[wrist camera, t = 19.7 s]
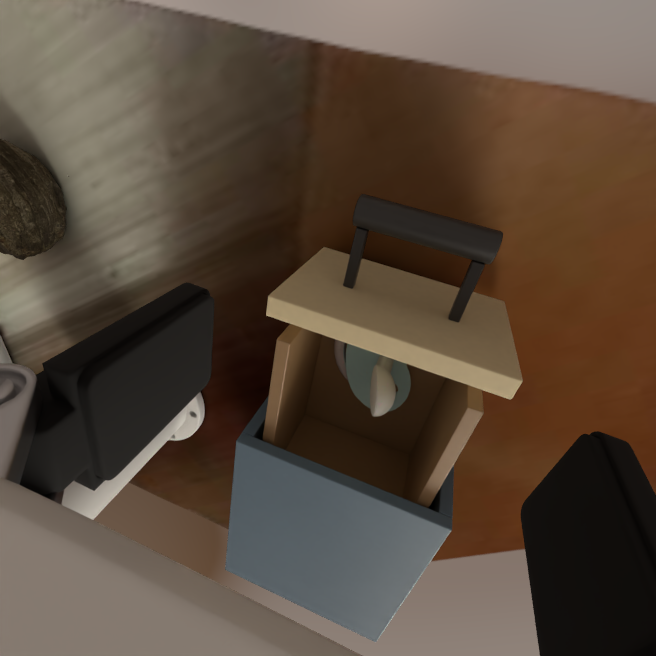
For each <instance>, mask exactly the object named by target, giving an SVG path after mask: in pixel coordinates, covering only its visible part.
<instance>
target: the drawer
mask: <svg viewBox="0 0 656 656" xmlns="http://www.w3.org/2000/svg"><path fill="white" fill-rule="evenodd" d="M353 225H354V226H356V227H357V228H356V232H355V236H354V240H353V245H352V249H351V253H350V255H349V254H346V253H342V252H339V251H336V250H333V249H329V248H326V247H323V248H322V249H321V250H320V251H319V252H318V253H316V254H315V255H314V256H313V257H312V258H311V259H310V260H308V261H307V262H306V263H305V264H304V265H303V266H302V267H300V268H299V269H298V270H297V271H296V272H295V273H294V274H292V275H291V276H290V277H289V278H288V279H287V280H286V281H284V282H283V283H282V284H281V285H280V286H279V287H278V288H276V289H275V290H274V291H273V292H272V293H271V294H270V295H269V296H268V302H267V310H266V315H267V316H270V317H273V318H275V319H278V320H281V321H284V322H287V323H290V325H289V326H288V327H287V328H286V329H285V330H284V332H283V333H282V334H281V335H280V336H279V337H278V338H277V341H276V348H275V355H274V362H273V369H272V376H271V383H270V390H269V398H268V405H267V412H266V419H265V426H264V433H263V440H262V441H265V442H267V443H269V444H272V445H274V446H277V447H279V448H282V449H284V450H287V451H289V452H291V453H294V454H296V455H299V456H301V457H304V458H306V459H309V460H311V461H314V462H316V463H318V464H321V465H323V466H326V467H328V468H331V469H333V470H336V471H338V472H340V473H343V474H345V475H348V476H350V477H353V478H355V479H358V480H360V481H362V482H365V483H367V484H370V485H372V486H375V487H377V488H380V489H382V490H384V491H387V492H389V493H392V494H394V495H397V496H399V497H402V498H404V499H406V500H409V501H411V502H414V503H416V504H419V505H421V506H424V507H426V508H429V506H430V505H431V503H432V501H433V499H434V498H435V496H436V494H437V492H438V491H439V489H440V487H441V486H442V484H443V482H444V480H445V479H446V477H447V475H448V473H449V472H450V470H451V468H452V467H453V465H454V463H455V461H456V460H457V458H458V456H459V454H460V453H461V451H462V449H463V448H464V446H465V444H466V442H467V441H468V439H469V437H470V435H471V434H472V432H473V430H474V429H475V427H476V425H477V423H478V422H479V420H480V418H481V416H482V415H483V413H484V410H483V396H482V390H484V391H487V392H490V393H493V394H496V395H499V396H502V397H504V398H507V399H512V398H513V396H514V394H515V393H516V391H517V390H518V388H519V386H520V385H521V383H522V381H523V379H522V375H521V371H520V366H519V362H518V358H517V354H516V349H515V345H514V341H513V336H512V332H511V328H510V323H509V319H508V315H507V310H506V306H505V302H504V301H501V300H498V299H495V298H492V297H488V296H485V295H482V294H478V293H475V292H473V290H474V288H475V286H476V284H477V282H478V279H479V277H480V275H481V273H482V270H483V268H484V266H485V264H491V263H492V261H493V260H494V258H495V257H496V255H497V252H498V250H499V248H500V245H501V242H502V238H503V232H501V231H498V230H494V229H490V228H487V227H483V226H479V225H476V224H472V223H468V222H465V221H461V220H457V219H454V218H450V217H446V216H442V215H439V214H435V213H431V212H428V211H424V210H420V209H417V208H413V207H409V206H406V205H402V204H398V203H394V202H391V201H387V200H383V199H380V198H376V197H372V196H369V195H365V194H362V195H361V196H360V197H359V199H358V201H357V204H356V207H355V211H354V215H353ZM369 230H370V231H374V232H377V233H381V234H384V235H388V236H391V237H395V238H398V239H402V240H405V241H409V242H412V243H416V244H419V245H423V246H426V247H430V248H433V249H436V250H440V251H443V252H447V253H450V254H454V255H457V256H461V257H464V258H468V259H471V260H472V261H471V263H470V265H469V268H468V270H467V273H466V275H465V277H464V280H463V282H462V284H461V287H460V288H458V287H455V286H452V285H448V284H445V283H442V282H439V281H435V280H432V279H429V278H425V277H422V276H419V275H415V274H412V273H409V272H405V271H402V270H399V269H395V268H392V267H389V266H386V265H382V264H379V263H376V262H372V261H369V260H366V259H362V256H363V252H364V248H365V244H366V240H367V236H368V232H369ZM484 263H485V264H484ZM335 339H336V340H339V341H342V342H345V343H346V349H347V344H351V345H354V346H357V347H360V348H362V349H365V350H368V351H371V352H374V353H377V354H380V355H383V356H386V357H389V358H391V359H394V360H397V361H400V362H403V363H406V364H407V367H408V370H409V373H410V378H411V386H410V392H409V394H408V397H407V399H406V400H405V401H404V403H403V404H402V405H401V406H400V407H398V408H396V409H395V410H392V411H388V412H387V413H385V414H384V415H382V416H377V417H375V416H372V414H371V409H370V408H368V407H367V406H365V405H364V404H363V403H362V402H361V401H360V400H359V399H358V398H357V397H356V396H355V395H354V393H353V391H352V389H351V387H350V384H349V382H348V380H347V379H346V378H345V377H344V376H343V374H342V373H341V372H340V370H339V368H338V365H337V363H336V359H335V354H334V342H335ZM395 388H396V392H397V391H398V387H397V385H396V384H395Z"/></svg>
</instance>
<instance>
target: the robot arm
mask: <svg viewBox="0 0 656 656" xmlns="http://www.w3.org/2000/svg"><path fill="white" fill-rule="evenodd" d="M213 319H214V299H213V298H212V297H211V296H210V293H209V291H208V290H207V289H205V288H202V287H199V286H196V285H194V284H191V283H184V284H182V285H180V286H178V287H176V288H175V289H173V290H171V291H169V292H168V293H166V294H164V295H162V296H161V297H159V298H157V299H155V300H154V301H152V302H150V303H148V304H146V305H145V306H143V307H141V308H139V309H138V310H136V311H134V312H132V313H131V314H129V315H127V316H125V317H124V318H122V319H120V320H118V321H117V322H115V323H113V324H111V325H109V326H108V327H106V328H104V329H102V330H101V331H99V332H97V333H95V334H94V335H92V336H90V337H88V338H87V339H85V340H83V341H81V342H79V343H78V344H76V345H74V346H72V347H71V348H69V349H67V350H65V351H64V352H62V353H60V354H58V355H57V356H55V357H53V358H51V359H50V360H48V361H46V362H44V363H42V364H43V367H44V371H42V372H41V373H39V374H37V375H35V374H34V372H33V371H32V370H31V369H29V368H27V367H26V366H23V365H18V364H14V363H0V656H362V655H360V654H357V653H356V652H354V651H352V650H350V649H348V648H346V647H344V646H342V645H340V644H338V643H336V642H334V641H332V640H330V639H328V638H326V637H324V636H322V635H321V634H319V633H317V632H315V631H312V630H311V629H309V628H307V627H305V626H303V625H300V624H299V623H297V622H295V621H293V620H291V619H289V618H287V617H285V616H283V615H281V614H279V613H277V612H275V611H273V610H271V609H269V608H267V607H265V606H263V605H261V604H259V603H257V602H255V601H253V600H251V599H250V598H248V597H245V596H244V595H242V594H240V593H238V592H236V591H234V590H232V589H230V588H228V587H226V586H224V585H222V584H220V583H218V582H216V581H214V580H212V579H210V578H208V577H206V576H204V575H202V574H200V573H198V572H196V571H194V570H192V569H190V568H188V567H186V566H184V565H182V564H180V563H178V562H176V561H174V560H172V559H170V558H168V557H166V556H164V555H162V554H160V553H158V552H156V551H154V550H152V549H150V548H148V547H146V546H144V545H142V544H140V543H138V542H136V541H134V540H132V539H130V538H128V537H126V536H124V535H122V534H120V533H118V532H116V531H114V530H112V529H110V528H108V527H106V526H104V525H102V524H100V523H98V522H96V521H94V520H93V519H94V518H95V517H96V516H97V515H98V514H99V513H100V512H101V511H102V510H103V509H104V508H105V507H106V505H107V504H108V503H109V502H110V501H111V500H112V499H113V498H114V497H115V496H116V495H117V494H118V493H119V492H120V491H121V489H122V488H123V487H124V486H125V485H126V484H127V483H128V482H129V481H130V480H131V479H132V478H133V477H134V476H135V475H136V473H137V472H138V471H139V470H140V469H141V468H142V467H143V466H144V465H145V464H146V463H147V462H148V461H149V460H150V459H151V457H152V456H153V455H154V454H155V453H156V452H157V451H158V450H159V449H160V448H161V447H162V446H163V445H164V444H165V443H166V442H167V440H182V439H186V438H188V437H190V436H191V435H192V434H193V433H195V432H196V430H197V429H198V428H199V427H200V425H201V424H202V422H203V419H204V413H205V408H204V401H203V398H202V395H201V392H200V391H201V390H202V389H203V388H204V387H205V386H206V385H207V383H208V382H209V380H210V377H211V363H212V341H213ZM521 522H522V529H523V536H524V543H525V551H526V558H527V565H528V572H529V580H530V586H531V593H532V600H533V608H534V615H535V623H536V630H537V637H538V644H539V651H540V656H656V495H655V493H654V491H653V489H652V487H651V485H650V483H649V481H648V479H647V477H646V475H645V473H644V471H643V469H642V467H641V465H640V463H639V461H638V460H637V458H636V456H635V454H634V452H633V450H632V448H631V446H630V445H629V443H627V442H626V441H623V440H621V439H618V438H615V437H612V436H610V435H607V434H604V433H601V432H593V433H591V434H590V435H588V434H583V435H581V436H580V437H579V438H578V439H577V440H576V442H575V443H574V444H573V445H572V446H571V447H570V449H569V450H568V451H567V452H566V453H565V455H564V456H563V457H562V458H561V459H560V460H559V462H558V463H557V464H556V465H555V466H554V467H553V469H552V470H551V471H550V472H549V473H548V474H547V476H546V477H545V478H544V479H543V480H542V481H541V483H540V484H539V485H538V486H537V487H536V488H535V490H534V491H533V492H532V493H531V494H530V496H529V497H528V498H527V499H526V500H525V502H524V503H523V506H522V509H521Z"/></svg>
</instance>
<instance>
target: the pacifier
mask: <svg viewBox="0 0 656 656" xmlns="http://www.w3.org/2000/svg"><path fill="white" fill-rule="evenodd" d="M334 354H335V359H336V363H337V365H338V368H339V370H340V372H341V373H342V374H343V376H344V377H345V378H346V379H347V380H348V382H349V384H350V387H351V389H352V391H353V393H354V395H355V396H356V397H357V398H358V399H359V400H360V401H361V402H362V403H363V404H364V405H365V406H367V407H368V408H370V409H371V414H372V416H375V417H377V416H382V415H384V414H385V413H387V412H388V411H392V410H395V409H396V408H398V407H400V406H401V405H402V404H403V403H404V401H405V400H406V399H407V397H408V394H409V392H410V386H411V378H410V373H409V370H408V367H407V364H406V363H403V362H400V361H397V360H394V359H391V358H389V357H386V356H383V355H380V354H377V353H374V352H371V351H368V350H365V349H362V348H360V347H357V346H354V345H351V344H347V349H346V343H345V342H342V341H339V340H336V339H335V342H334ZM395 384H396V385H397V387H398V391H397V392H396V388H395Z"/></svg>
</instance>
